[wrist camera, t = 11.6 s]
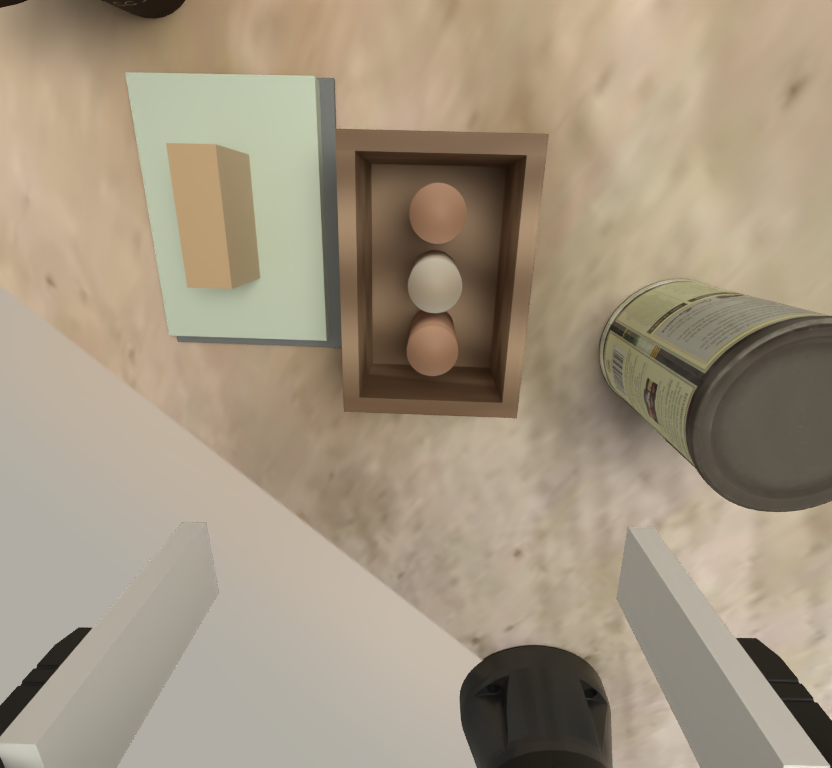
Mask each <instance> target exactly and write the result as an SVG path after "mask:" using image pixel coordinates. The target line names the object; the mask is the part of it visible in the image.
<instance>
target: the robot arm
mask: <svg viewBox="0 0 832 768" xmlns="http://www.w3.org/2000/svg"><path fill="white" fill-rule="evenodd" d="M218 594H219V589H218V584H217V579H216V573H215V568H214V563H213V557H212V552H211V546H210V541H209V535H208V530H207V525H206V523H204V522H203V523H202V522H182V523H181V525H180V526H179V527H178V528H177V529H176V530H175V532H174V533H173V534H172V535H171V536H170V537H169V539H168V540H167V541H166V542H165V544H163V546H162V547H161V548H160V549H159V550H158V552H157V553H156V554H155V555H154V556H153V558H152V559H151V560H150V561H149V562H148V563H147V565H146V566H145V567H144V568H143V569H142V570H141V572H140V573H139V574H138V575H137V576H136V577H135V579H134V580H133V581H132V582H131V583H130V585H129V586H128V587H127V588H126V589H125V590H124V592H123V593H122V594H121V595H120V596H119V598H118V599H117V600H116V601H115V602H114V603H113V604H112V606H111V607H110V608H109V609H108V610H107V612H106V613H105V614H104V615H103V616H102V617H101V619H100V620H99V621H98V622H97V623H96V625H95V626H94V627H93V628H78V629H76V630H75V631H73V632H72V633H71V634H69V635H68V636H67V637H66V638H64V639H63V640H61V641H60V642H59V643H57V644H56V645H55V646H54V647H53V648H52V649H51V650H50V651H49V652H48V653H47V655H46V656H45V657H44V658H43V659H42V660H41V661H40V662H39V663H38V664H37V668H36V669H33V670H32V671H31V672H30V673H29V674H28V676H27V677H26V678H25V679H24V680H23V681H22V684H21V686H18V687H17V688H16V689H15V690H14V691H13V692H12V693H11V694H10V695H9V697H8V698H7V699H6V700H5V701H4V702H3V703H2V704H1V705H0V768H117V766H118V764H119V763H120V761H121V759H122V758H123V756H124V754H125V752H126V751H127V749H128V747H129V746H130V743H131V742H132V740H133V739H134V737H135V735H136V734H137V732H138V730H139V728H140V727H141V725H142V723H143V722H144V720H145V718H146V717H147V715H148V713H149V711H150V710H151V708H152V706H153V705H154V703H155V701H156V700H157V698H158V696H159V694H160V692H161V691H162V689H163V687H164V685H165V684H166V682H167V681H168V679H169V677H170V676H171V674H172V672H173V670H174V669H175V667H176V665H177V664H178V662H179V660H180V659H181V657H182V655H183V653H184V652H185V650H186V648H187V646H188V645H189V643H190V641H191V640H192V638H193V636H194V635H195V633H196V631H197V629H198V628H199V626H200V624H201V623H202V621H203V619H204V617H205V616H206V614H207V612H208V611H209V609H210V607H211V606H212V604H213V602H214V600H215V599H216V597H217V595H218ZM617 600H618V602H619V604H620V606H621V608H622V610H623V613H624V615H625V617H626V619H627V621H628V623H629V625H630V627H631V629H632V631H633V633H634V635H635V637H636V639H637V641H638V643H639V645H640V647H641V649H642V651H643V653H644V655H645V657H646V659H647V661H648V663H649V665H650V667H651V669H652V671H653V673H654V675H655V677H656V679H657V681H658V683H659V685H660V687H661V689H662V691H663V693H664V695H665V697H666V699H667V701H668V703H669V705H670V707H671V709H672V711H673V713H674V715H675V717H676V719H677V721H678V723H679V725H680V727H681V729H682V731H683V733H684V735H685V737H686V739H687V741H688V743H689V745H690V747H691V749H692V751H693V753H694V755H695V757H696V759H697V761H698V763H699V765H700V768H832V720H831V719H830V718H829V717H828V716H827V714H826V713H825V712H824V711H823V709H822V708H821V707H820V706H819V704H818V703H815V702H814V700H813V697H812V696H811V695H810V693H809V692H808V691H807V690H806V688H805V687H804V686H803V685H802V684H800V683H799V682H798V679H797V677H796V676H795V675H794V674H793V672H792V671H791V670H790V669H789V667H788V666H787V665H786V664H785V662H784V661H783V660H782V659H781V658H780V657H779V656H778V655H777V654H775V653H774V652H773V651H772V650H770V649H769V648H768V647H767V646H765V645H764V644H763V643H762V642H760V641H759V640H758V639H756V638H735V636H734V635H733V634H732V632H731V631H730V630H729V628H728V627H727V626H726V624H725V623H724V622H723V620H722V619H721V618H720V616H719V615H718V613H717V612H716V611H715V609H714V608H713V607H712V605H711V604H710V603H709V601H708V600H707V599H706V597H705V596H704V595H703V593H702V592H701V590H700V589H699V588H698V586H697V585H696V584H695V582H694V581H693V580H692V578H691V577H690V576H689V574H688V573H687V572H686V570H685V569H684V567H683V566H682V565H681V563H680V562H679V561H678V559H677V558H676V557H675V555H674V554H673V553H672V551H671V550H670V549H669V547H668V546H667V545H666V543H665V542H664V540H663V539H662V538H661V536H660V535H659V534H658V532H657V531H656V530H655V528H654V527H628V529H627V535H626V542H625V548H624V554H623V561H622V567H621V574H620V580H619V586H618V593H617ZM460 712H461V722H462V727H463V731H464V733H465V736H466V739H467V742H468V744H469V747H470V749H471V752H472V755H473V758H474V760H475V763H476V766H477V768H613V767H612V736H611V711H610V706H609V701H608V698H607V696H606V693H605V690H604V687H603V684H602V682H601V679H600V677H599V676H598V674H597V672H596V671H595V670H594V669H593V668H592V667H591V666H590V665H589V664H588V663H587V662H586V661H584V660H583V659H581V658H580V657H578V656H576V655H574V654H572V653H569V652H567V651H564V650H560V649H556V648H551V647H542V646H526V647H518V648H513V649H509V650H505V651H502V652H499V653H497V654H494V655H492V656H490V657H488V658H486V659H485V660H483V661H482V662H480V663H479V664H478V665H477V666H476V667H474V668H473V670H471V672H470V673H469V674H468V675H467V677H466V679H465V680H464V682H463V684H462V687H461V691H460Z"/></svg>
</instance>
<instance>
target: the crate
mask: <svg viewBox="0 0 832 768" xmlns="http://www.w3.org/2000/svg"><path fill="white" fill-rule="evenodd" d="M548 135H549V134H530V133H488V132H446V131H404V130H362V129H335V139H336V172H337V204H338V236H339V268H340V301H341V333H342V365H343V397H344V411H345V412H371V413H397V414H423V415H449V416H475V417H501V418H517V411H518V402H519V393H520V384H521V375H522V366H523V358H524V349H525V340H526V331H527V322H528V313H529V304H530V295H531V286H532V277H533V269H534V260H535V251H536V242H537V233H538V224H539V215H540V206H541V197H542V188H543V180H544V171H545V162H546V153H547V144H548Z"/></svg>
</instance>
